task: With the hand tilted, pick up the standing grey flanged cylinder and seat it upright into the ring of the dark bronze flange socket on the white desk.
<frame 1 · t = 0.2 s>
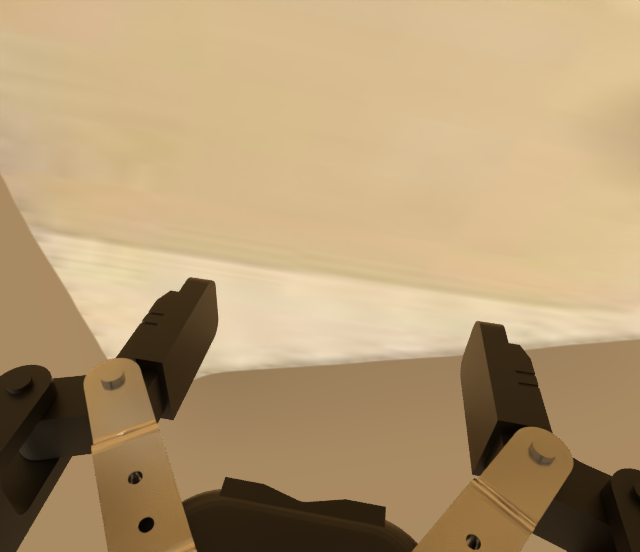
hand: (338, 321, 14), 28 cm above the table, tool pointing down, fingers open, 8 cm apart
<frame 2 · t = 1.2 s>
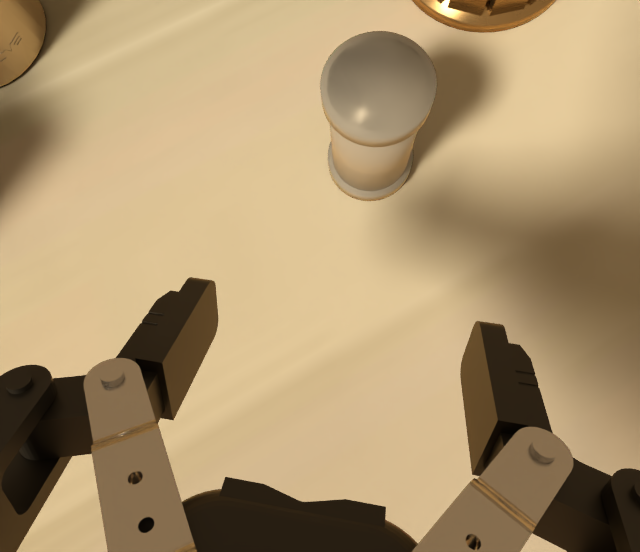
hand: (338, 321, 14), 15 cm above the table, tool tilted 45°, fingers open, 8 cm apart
grey flanged cylinder: (369, 161, 30), on the table
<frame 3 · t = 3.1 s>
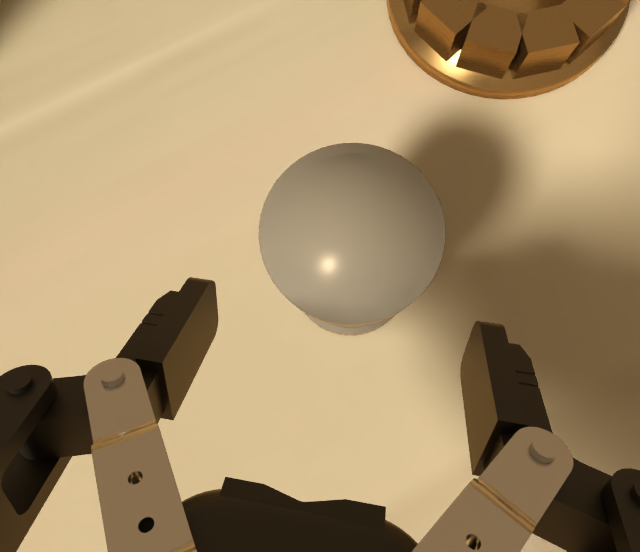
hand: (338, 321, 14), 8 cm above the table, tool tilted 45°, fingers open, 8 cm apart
grey flanged cylinder: (350, 279, 22), on the table
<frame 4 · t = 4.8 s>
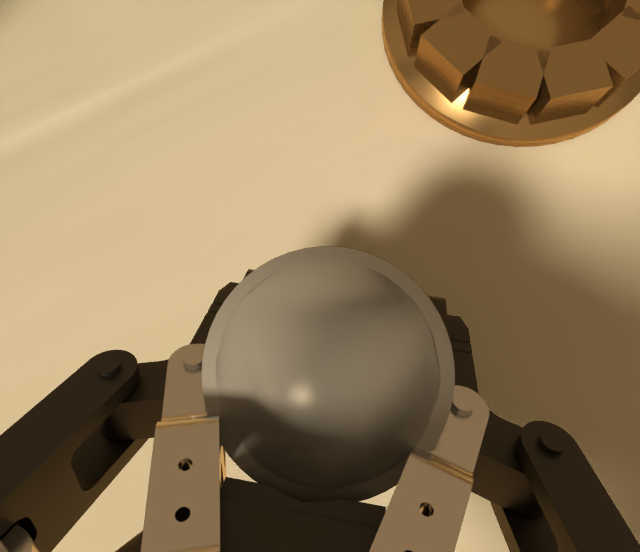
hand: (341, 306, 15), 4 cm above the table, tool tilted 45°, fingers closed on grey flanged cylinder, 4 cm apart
flange socket: (516, 20, 21), on the table
grey flanged cylinder: (337, 361, 19), on the table, touching gripper
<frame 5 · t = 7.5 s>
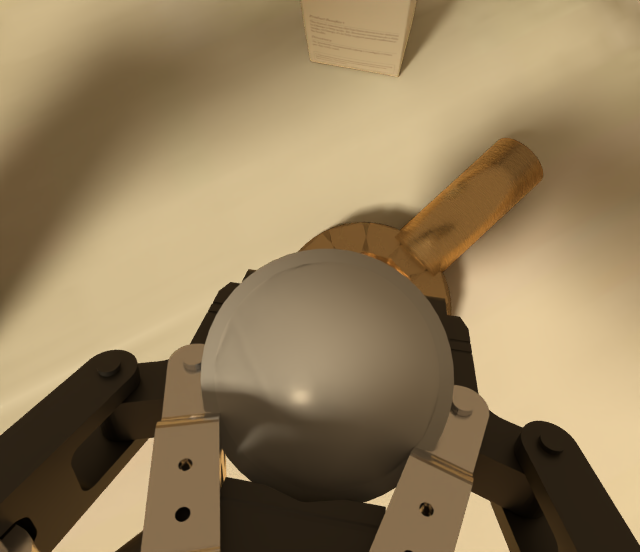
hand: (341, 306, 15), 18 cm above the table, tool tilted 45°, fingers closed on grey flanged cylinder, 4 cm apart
supplement box: (362, 31, 37), on the table
flange socket: (362, 307, 33), on the table
grey flanged cylinder: (336, 363, 19), point 14 cm above the table, touching gripper
when the fingers open (7 cm above the table, at t = 10.4 s): grey flanged cylinder drops 2 cm, resting on flange socket.
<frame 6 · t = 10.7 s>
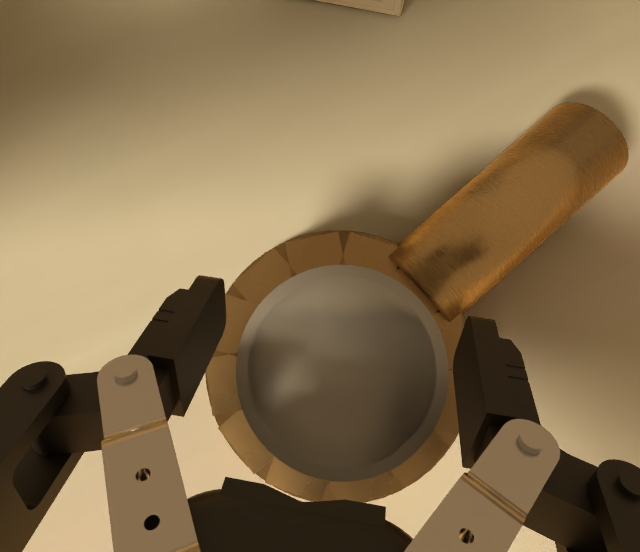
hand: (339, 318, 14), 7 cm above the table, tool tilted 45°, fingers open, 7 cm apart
flange socket: (337, 360, 21), on the table
grey flanged cylinder: (342, 361, 21), point 1 cm above the table, touching flange socket
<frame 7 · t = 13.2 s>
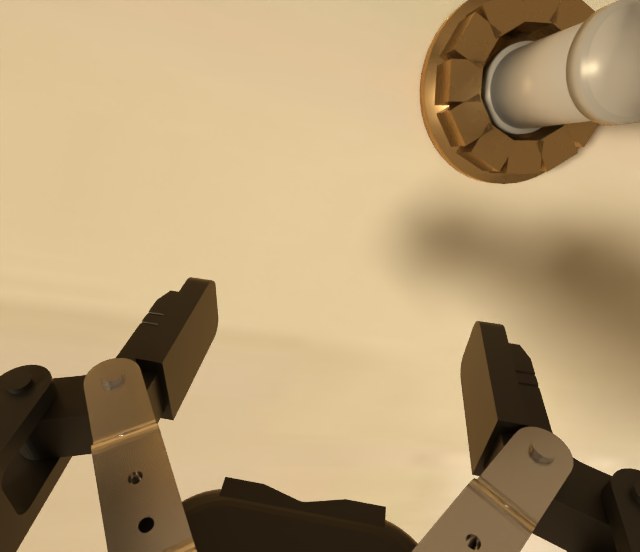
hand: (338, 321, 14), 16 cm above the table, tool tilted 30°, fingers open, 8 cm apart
flange socket: (506, 90, 30), on the table
grey flanged cylinder: (515, 90, 30), point 1 cm above the table, touching flange socket
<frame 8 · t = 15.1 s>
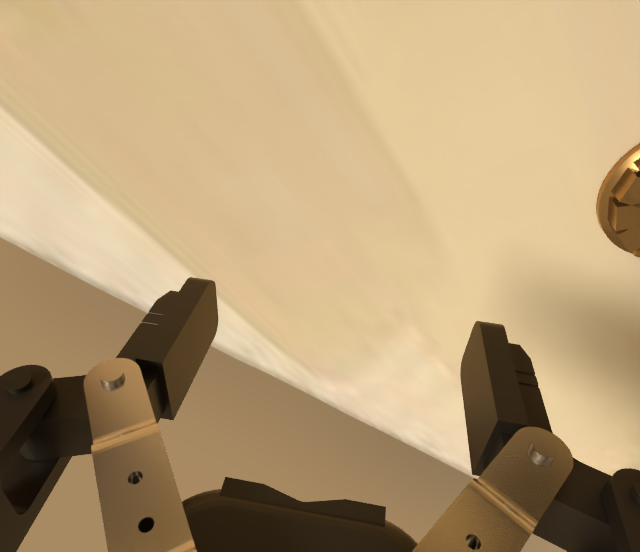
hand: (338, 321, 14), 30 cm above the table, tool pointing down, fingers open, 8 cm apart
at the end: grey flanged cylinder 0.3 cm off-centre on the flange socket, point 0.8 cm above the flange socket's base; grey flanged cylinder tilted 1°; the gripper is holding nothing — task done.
